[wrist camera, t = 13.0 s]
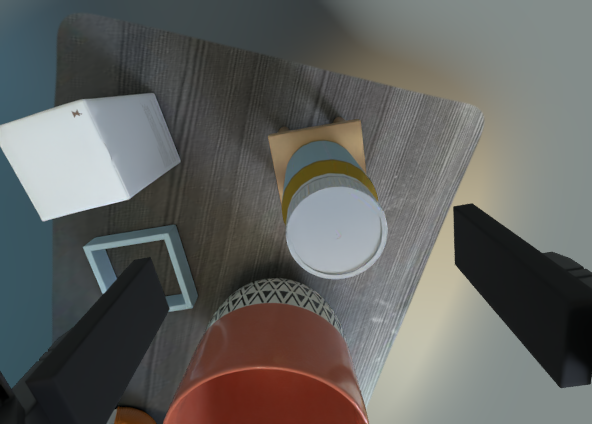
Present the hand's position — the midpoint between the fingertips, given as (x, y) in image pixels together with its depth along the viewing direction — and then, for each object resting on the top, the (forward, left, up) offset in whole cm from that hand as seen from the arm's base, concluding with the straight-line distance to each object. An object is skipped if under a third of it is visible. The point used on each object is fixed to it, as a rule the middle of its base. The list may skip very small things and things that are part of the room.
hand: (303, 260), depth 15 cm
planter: (+24, -7, -31) cm, 40 cm away
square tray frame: (+14, -24, -31) cm, 41 cm away
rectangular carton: (-4, -20, -31) cm, 37 cm away
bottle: (+2, +2, -21) cm, 21 cm away
